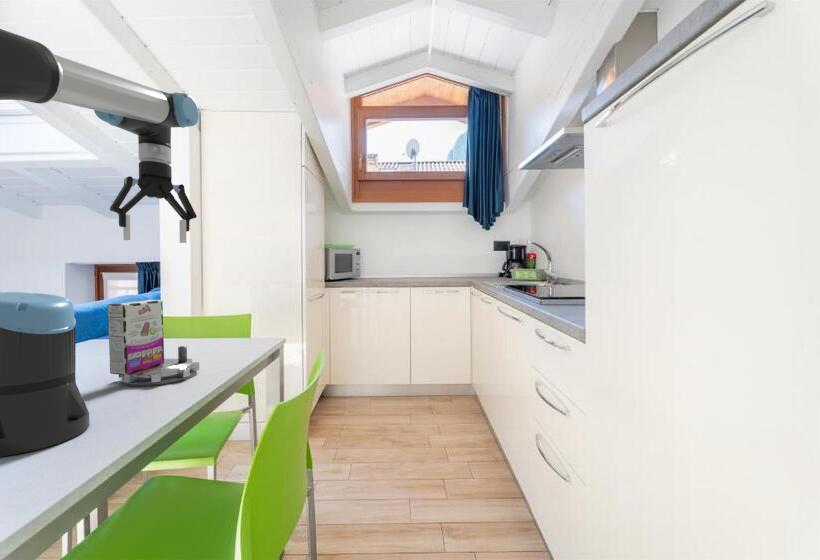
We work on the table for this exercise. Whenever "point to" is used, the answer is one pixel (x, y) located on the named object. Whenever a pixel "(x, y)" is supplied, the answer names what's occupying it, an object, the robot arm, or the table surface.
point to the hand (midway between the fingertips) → (156, 241)
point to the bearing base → (163, 382)
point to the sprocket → (165, 369)
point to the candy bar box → (135, 336)
